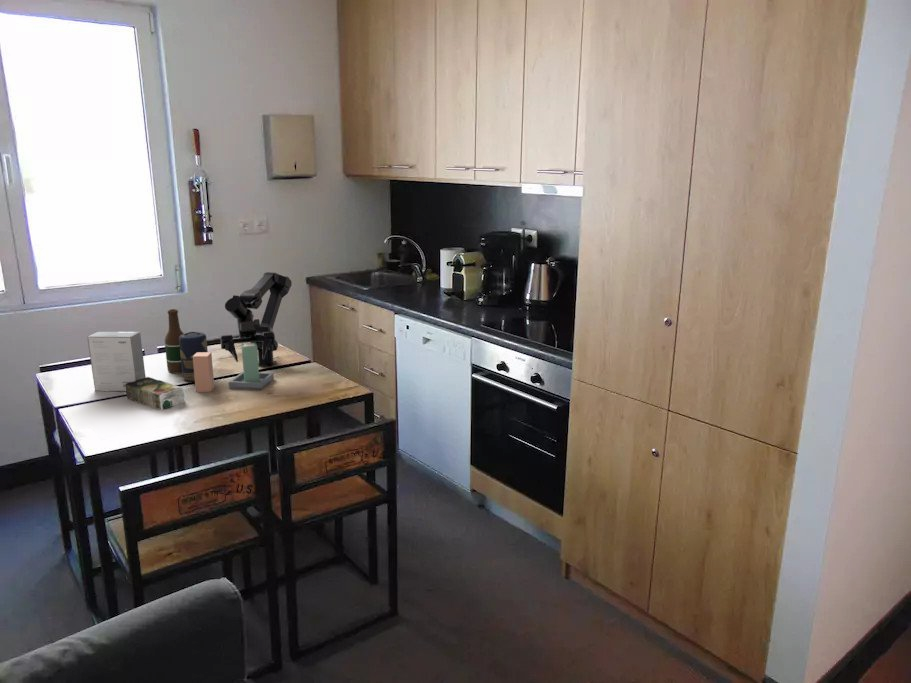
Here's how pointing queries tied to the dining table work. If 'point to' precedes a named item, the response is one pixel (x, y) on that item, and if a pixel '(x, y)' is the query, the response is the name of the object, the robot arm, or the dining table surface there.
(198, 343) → the canister
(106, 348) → the hard drive box
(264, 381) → the tray
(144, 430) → the dining table surface
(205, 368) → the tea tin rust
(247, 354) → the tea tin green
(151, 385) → the juice carton
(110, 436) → the dining table surface
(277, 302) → the robot arm
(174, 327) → the beer bottle
